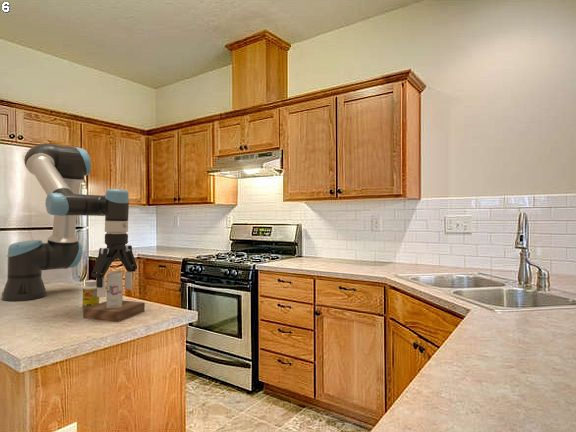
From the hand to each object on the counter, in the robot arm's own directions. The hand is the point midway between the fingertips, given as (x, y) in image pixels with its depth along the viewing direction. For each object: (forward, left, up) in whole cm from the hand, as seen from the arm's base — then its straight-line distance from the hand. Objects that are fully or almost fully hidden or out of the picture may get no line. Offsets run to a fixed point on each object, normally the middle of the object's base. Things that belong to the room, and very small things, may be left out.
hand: (115, 293), depth 133 cm
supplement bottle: (-15, +5, -8) cm, 18 cm away
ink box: (0, 0, -5) cm, 5 cm away
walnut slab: (0, 0, -8) cm, 8 cm away
